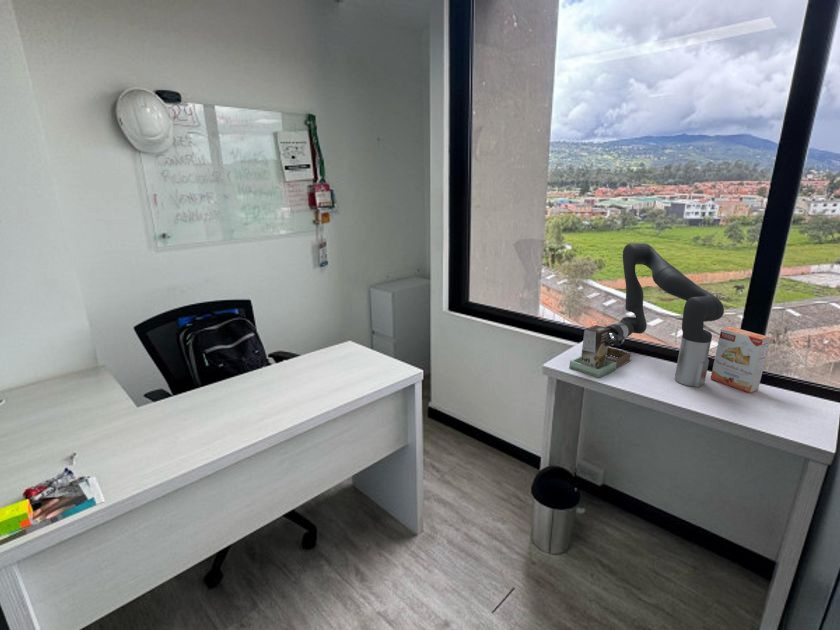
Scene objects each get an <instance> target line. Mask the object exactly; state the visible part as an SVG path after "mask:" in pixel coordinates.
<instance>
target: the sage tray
mask: <svg viewBox="0 0 840 630" xmlns="http://www.w3.org/2000/svg"><path fill="white" fill-rule="evenodd" d="M616 363H617V362H613V361H610V360H607V359H606V363H605V366H603V367H601V368H599V369H596V368H593V367H590V366H587V365H584V364H581V355H580V356H578V357H576V358H574V359H571V360H569V367H568V368H569V369H572V370H575V371H577V372H581V373H584V374H587V375H590V376H592V377H596V378H599V379H601V378H602V377H604V376H606V375H607V374H609V373H612V372H613V371H615V370H616V369H617V368H616Z"/></svg>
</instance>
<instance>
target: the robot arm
mask: <svg viewBox="0 0 840 630" xmlns="http://www.w3.org/2000/svg"><path fill="white" fill-rule="evenodd" d="M622 265H623V266H622V267H623V275H624V280H625V282H624V283H625V306H624V307H625V311H627V312H629V313H632V314H633V315H634V316H625V317H622V318H620V319H621V320H619V322H615V323H612V324H609V325H606V326H605V327H607V328H610V335H609V340H606V341H605V346H608V347H611V346H614V345H615V346H617V347H619V346H621V345H623V344H624V343H625V338H627V337H629V336H631V335H632V334H644V333H645V331H646V330H647V320H646V316H645V311H644V290H643V288H642V285H641V283H640V282H639V279H638V277H637V273H636V265H641V266H645V267H646V268H648V269H650V271H651V272H652V273H651V277H652V280H653V282H654V283H655V284H656V286H658V287H659V288H660V289H661V290H662V291H664V292H665V293H667V294H669V295H671V296H674V297H676V298H678V299H681V300H683V301H686V302H685V304H684V307H683V311H682V321H681V332H682V334H681V335H682V336H681V341H680V347H679V352H678V357H677V363H676V367H675V373H674V380H675V381H676V382H677V383H678V384H681V385H685V386H687V387H696V388H700V387H701V386H703V385H704V384H705V383H706V378H707V372H708V368H709V363H710V360H709V358H708V357H709V354H710V350H711V349H710V348H711V343H712V338H713V334H712V333H711V332H710V331H708V330H706V329H705V328H704V323H707V322H714V321H717V320H720V319H721V318H723V316H724V313H725V307H724V305H723V303H722V301H721V300H720V299H719V298H718V297H716V296H715V295H713V294H711V293H710V292H708V291H707V290H705V289H704V288H701V287H700V286H699V285H697V284H696V283H695V282H694V281H693V280H691V279H690V278H688V277H687V276H686V275H685V274H684V273H682V271H680V270H678V269H677V268H676V267H675V266H673V265H672V264H671V263H670V262H668V261H667V260H665V259H664V258H663V257H662V256H661V254H659V253H658V252H657V251H656V249H655V248H654V247H653V246H652V245H650V244H648V243H644V242H634V243H633V242H630V243H627V244H626V245H625V246H624V248H623V249H622Z"/></svg>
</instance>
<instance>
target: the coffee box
mask: <svg viewBox="0 0 840 630" xmlns="http://www.w3.org/2000/svg"><path fill="white" fill-rule="evenodd" d="M609 335H610V328H607V327H606V326H603V325H602V326H601V325H599V324H598V325H597V324H596V325H593V326H590V327H586V328H584V332H583V338H582V339H583V340H582V346H581V347H582V349H581V354H580V356H581V364H584V365H587V366H590V367H593V368H596V369H599V368H601V367H603V366H605V363H606V357H608V356H607V349H608V347H609V346H605V341H606V340H609Z"/></svg>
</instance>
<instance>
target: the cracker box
mask: <svg viewBox="0 0 840 630" xmlns="http://www.w3.org/2000/svg"><path fill="white" fill-rule="evenodd" d="M771 339H772V338H771V336H768V335H763V334H761V333H756V332H752V331H748V330H745V329H741V328H737V327H733V326H726V327H722V328H720V333H719V338H718V342H717V347H716V352H715V355H714V356H715V357H714V361H713V364H712V365H713V366H712V370H711V375H710V380H713V381H716V382H718V383H721V384H724V385H727V386H730V387H732V388H735V389H737V390H740V391H742V392H745V393H748V394H752V393H754V392H756V391H758V390H759V388H760V383H761V380H762V376H763V372H764V368H765V363H766V358H767V355H768V350H769V346H770V342H771Z"/></svg>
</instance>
